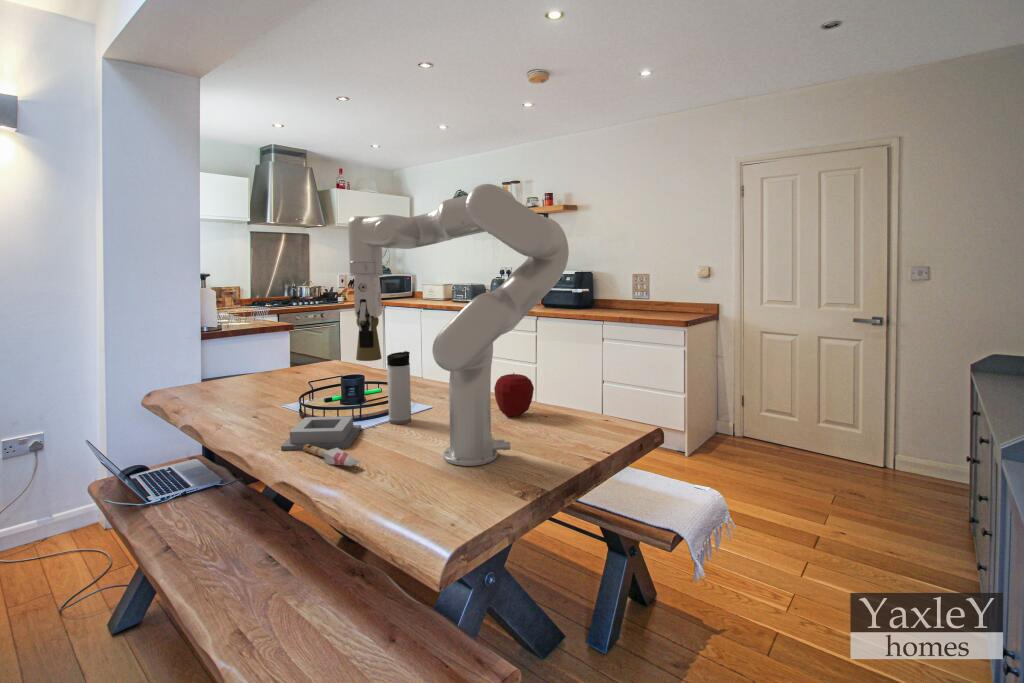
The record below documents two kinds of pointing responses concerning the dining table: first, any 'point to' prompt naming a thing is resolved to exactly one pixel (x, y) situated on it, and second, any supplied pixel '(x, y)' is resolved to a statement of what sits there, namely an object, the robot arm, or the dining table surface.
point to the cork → (369, 353)
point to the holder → (323, 433)
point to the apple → (513, 394)
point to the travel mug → (399, 388)
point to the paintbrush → (332, 455)
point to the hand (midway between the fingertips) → (368, 345)
